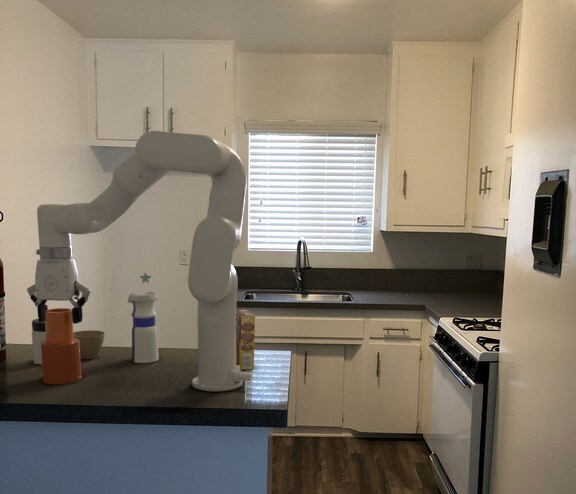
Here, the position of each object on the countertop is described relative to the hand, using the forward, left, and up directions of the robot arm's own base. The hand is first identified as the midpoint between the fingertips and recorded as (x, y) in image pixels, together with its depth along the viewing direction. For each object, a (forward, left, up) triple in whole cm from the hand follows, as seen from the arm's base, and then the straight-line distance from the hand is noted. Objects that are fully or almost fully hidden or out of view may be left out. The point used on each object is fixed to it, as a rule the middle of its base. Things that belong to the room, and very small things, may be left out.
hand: (60, 321), depth 158 cm
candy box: (-41, -25, -15) cm, 50 cm away
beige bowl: (+6, -22, -15) cm, 27 cm away
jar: (+14, -15, -15) cm, 26 cm away
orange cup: (0, 0, -5) cm, 5 cm away
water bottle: (-11, -24, -15) cm, 30 cm away
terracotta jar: (0, 0, -15) cm, 15 cm away
